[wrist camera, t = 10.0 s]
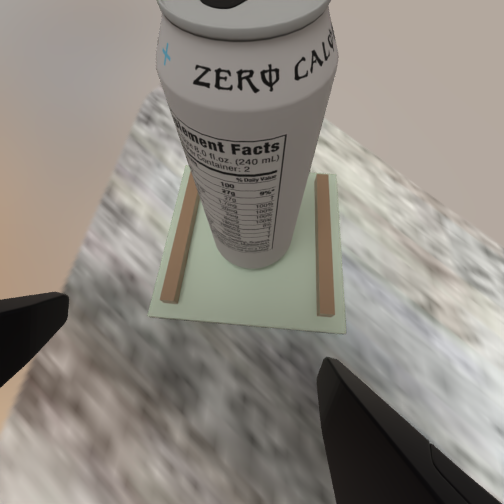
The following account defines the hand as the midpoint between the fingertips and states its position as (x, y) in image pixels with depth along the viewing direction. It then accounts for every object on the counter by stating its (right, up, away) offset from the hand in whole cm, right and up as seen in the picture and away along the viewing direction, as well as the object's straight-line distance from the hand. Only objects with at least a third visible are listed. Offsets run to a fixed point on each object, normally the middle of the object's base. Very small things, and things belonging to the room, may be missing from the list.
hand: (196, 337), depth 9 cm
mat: (+2, +4, +12) cm, 13 cm away
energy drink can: (+2, +4, +12) cm, 13 cm away
